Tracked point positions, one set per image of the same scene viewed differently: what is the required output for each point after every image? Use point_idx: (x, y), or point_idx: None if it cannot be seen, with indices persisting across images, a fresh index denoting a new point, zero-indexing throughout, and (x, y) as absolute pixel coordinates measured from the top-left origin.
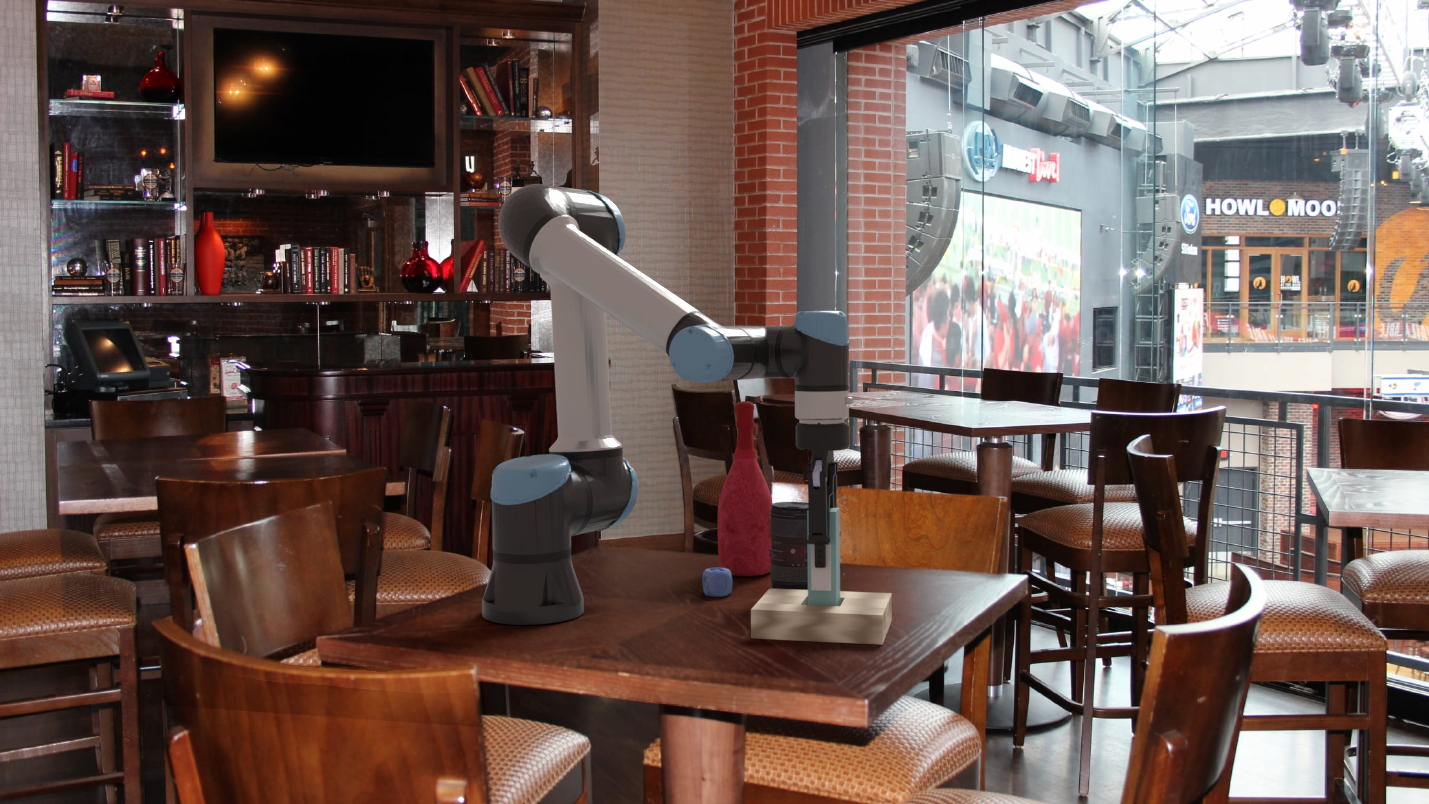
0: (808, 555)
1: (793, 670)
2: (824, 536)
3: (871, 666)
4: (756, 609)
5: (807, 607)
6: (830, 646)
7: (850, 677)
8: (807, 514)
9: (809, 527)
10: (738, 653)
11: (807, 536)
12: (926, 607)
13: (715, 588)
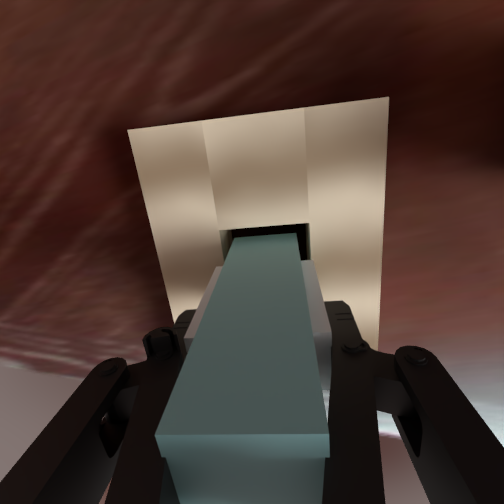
0: (209, 301)
1: (10, 257)
2: (105, 421)
3: (86, 346)
4: (133, 144)
5: (196, 250)
6: (161, 279)
7: (25, 331)
8: (160, 420)
9: (66, 406)
10: (47, 141)
11: (193, 339)
12: (477, 376)
13: None
